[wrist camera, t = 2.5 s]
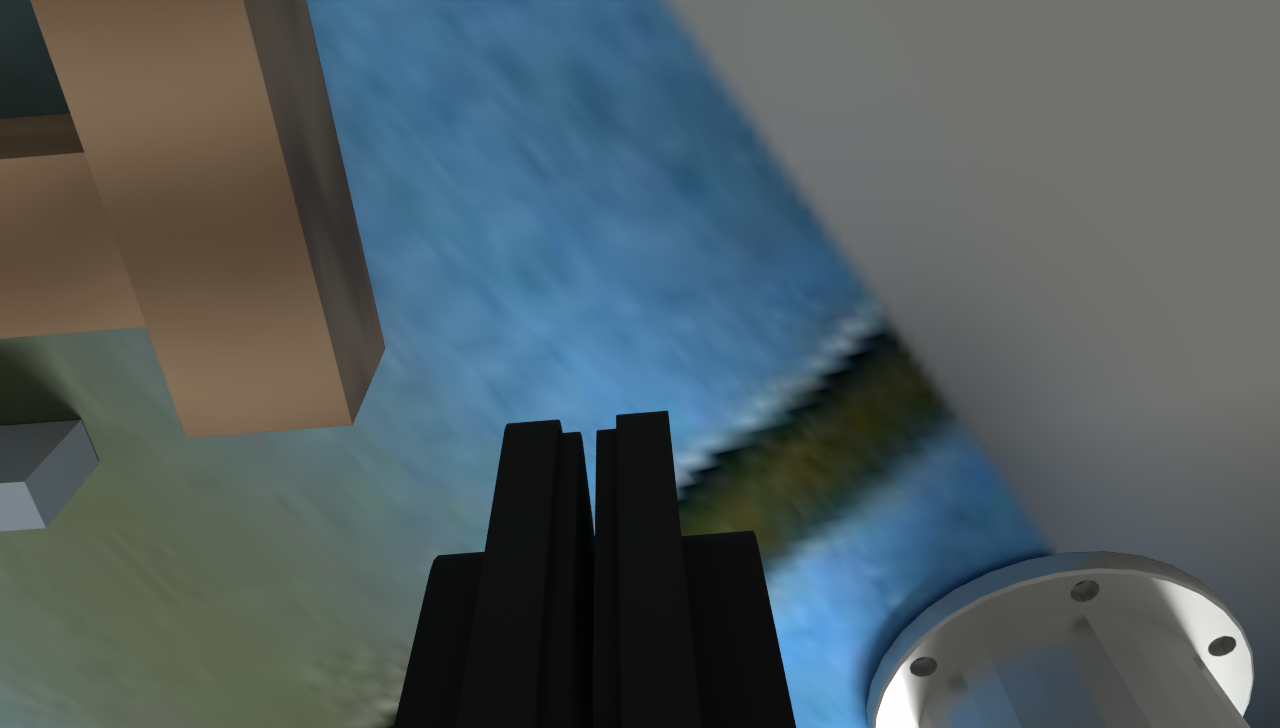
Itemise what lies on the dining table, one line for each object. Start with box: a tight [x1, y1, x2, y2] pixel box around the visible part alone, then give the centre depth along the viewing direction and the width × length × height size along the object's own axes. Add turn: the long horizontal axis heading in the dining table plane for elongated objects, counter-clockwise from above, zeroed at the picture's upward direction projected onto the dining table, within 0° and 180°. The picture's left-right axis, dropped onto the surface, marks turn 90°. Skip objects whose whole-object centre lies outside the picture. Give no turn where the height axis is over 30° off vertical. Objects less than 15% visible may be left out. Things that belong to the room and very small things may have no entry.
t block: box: [0, 0, 385, 438], centre depth 23 cm, size 10×10×4 cm
